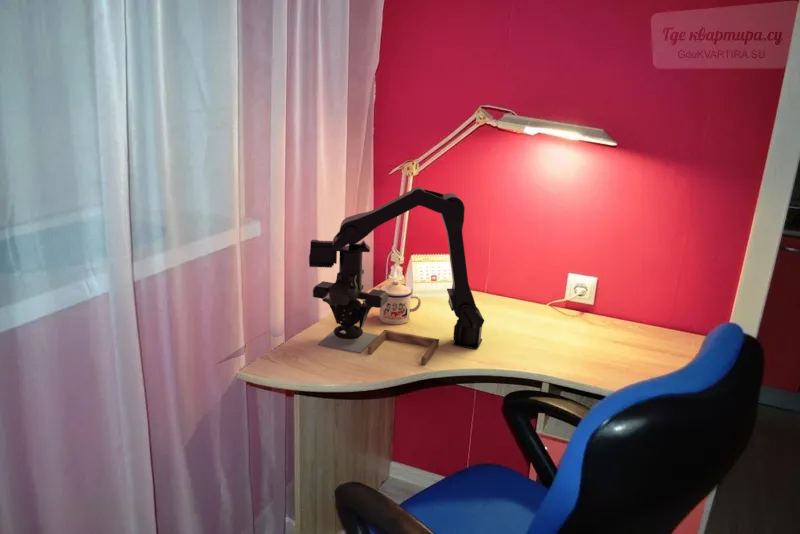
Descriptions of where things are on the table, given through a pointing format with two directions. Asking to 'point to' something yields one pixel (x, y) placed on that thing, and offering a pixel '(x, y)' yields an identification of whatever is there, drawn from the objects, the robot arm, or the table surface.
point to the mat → (348, 342)
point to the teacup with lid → (397, 304)
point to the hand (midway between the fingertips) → (349, 325)
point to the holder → (408, 338)
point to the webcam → (348, 320)
